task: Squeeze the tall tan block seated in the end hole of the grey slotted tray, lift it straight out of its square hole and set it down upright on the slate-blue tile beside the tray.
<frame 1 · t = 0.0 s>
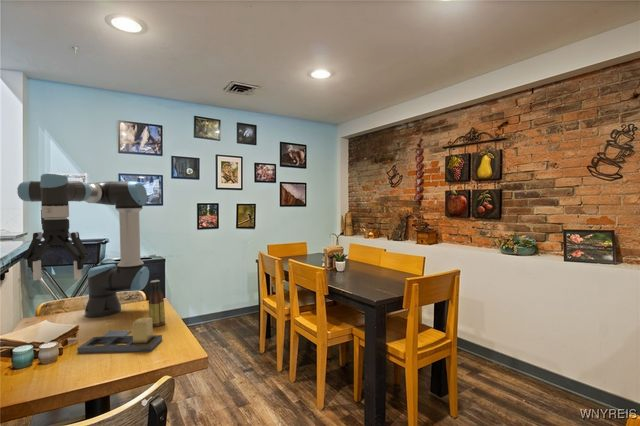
hand: (57, 279, 118), 28 cm above the table, fingers open, 13 cm apart
tan block: (143, 346, 128), resting in grey slotted tray
tile: (114, 336, 138), on the table
grey slotted tray: (121, 346, 128), on the table
sauce bottle: (157, 325, 150), on the table
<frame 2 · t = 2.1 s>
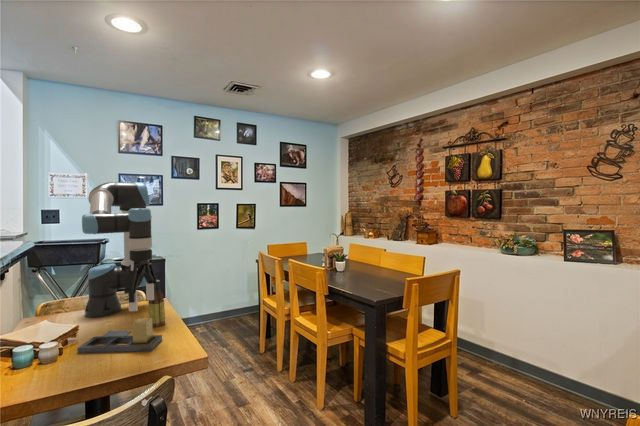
hand: (142, 305, 128), 16 cm above the table, fingers open, 13 cm apart
nothing on the table moved.
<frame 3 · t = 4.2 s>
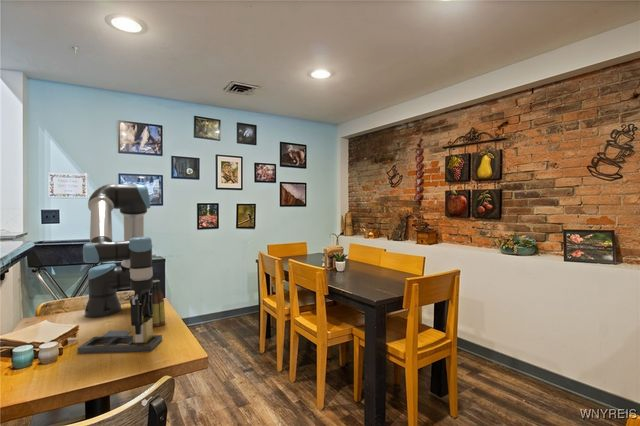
hand: (143, 338, 128), 3 cm above the table, fingers closed on tan block, 5 cm apart
tan block: (143, 345, 128), resting in grey slotted tray, touching gripper
everything else where it was.
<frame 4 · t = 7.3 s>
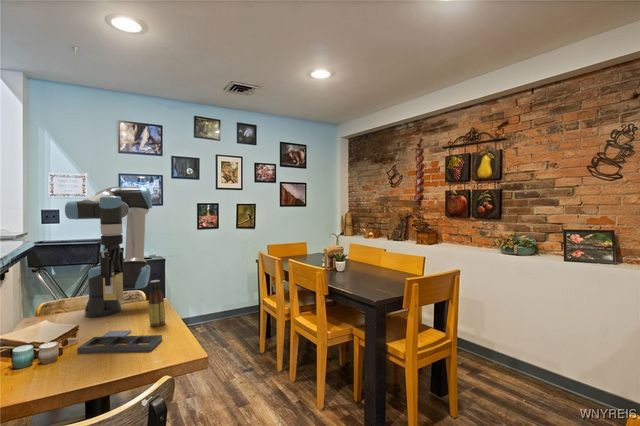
hand: (113, 291, 137), 18 cm above the table, fingers closed on tan block, 5 cm apart
tan block: (113, 298, 137), point 16 cm above the table, touching gripper
everything else where it was.
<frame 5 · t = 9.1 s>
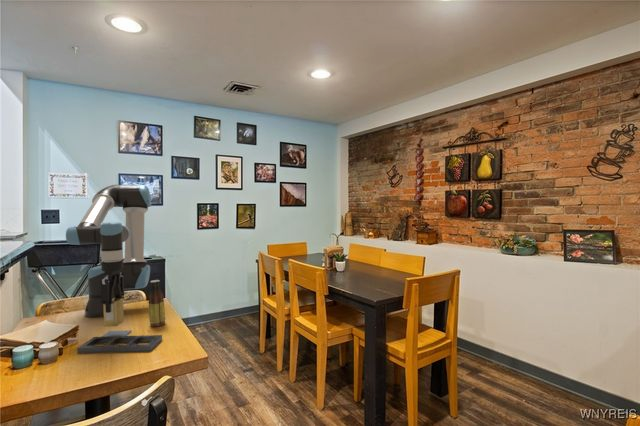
hand: (113, 317, 137), 8 cm above the table, fingers closed on tan block, 5 cm apart
tan block: (114, 323, 137), point 5 cm above the table, touching gripper
everything else where it was.
when the fingers open (5 cm above the table, at t = 10.5 s): tan block drops 1 cm, resting on tile.
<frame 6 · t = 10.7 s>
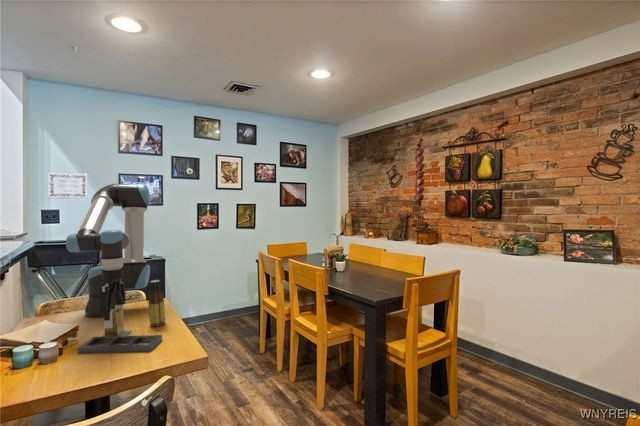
hand: (114, 323, 137), 5 cm above the table, fingers open, 7 cm apart
tan block: (114, 334, 138), point 1 cm above the table, touching tile
everything else where it was.
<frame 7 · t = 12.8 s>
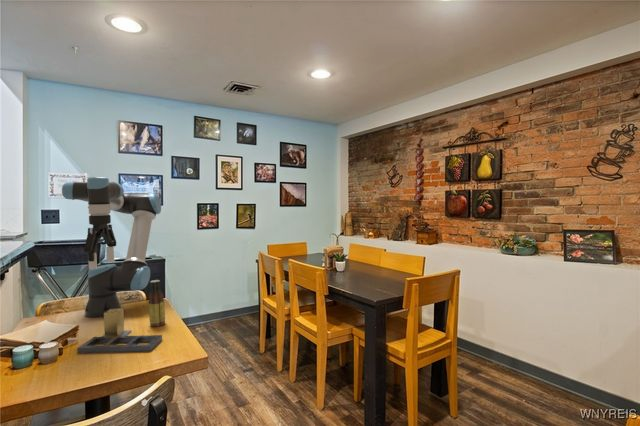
hand: (102, 265, 141), 28 cm above the table, fingers open, 13 cm apart
nothing on the table moved.
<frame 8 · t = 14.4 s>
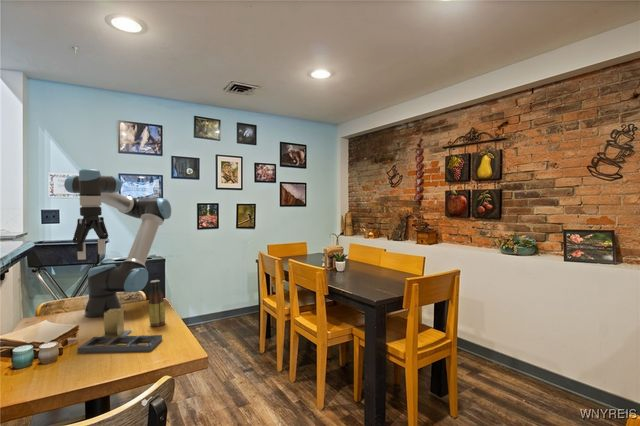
hand: (92, 256, 143), 32 cm above the table, fingers open, 13 cm apart
nothing on the table moved.
at the end: tan block inside the target area on the tile (0.1 cm from its centre), point 0.6 cm above the tile's base; tan block tilted 0°; tan block touching tile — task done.
